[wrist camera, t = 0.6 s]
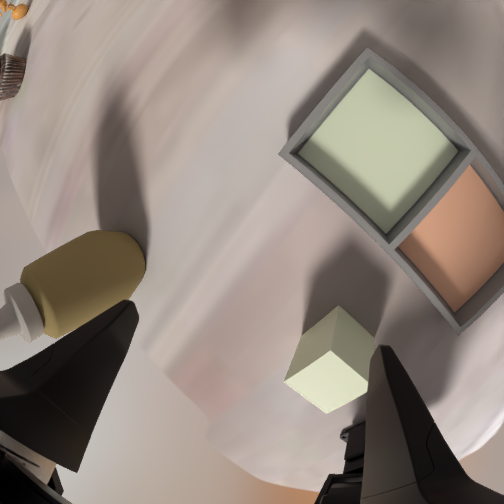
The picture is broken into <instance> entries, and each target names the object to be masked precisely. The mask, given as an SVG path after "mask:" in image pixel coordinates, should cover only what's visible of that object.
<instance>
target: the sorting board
mask: <svg viewBox="0 0 504 504" xmlns="http://www.w3.org/2000/svg"><path fill="white" fill-rule="evenodd" d="M278 155H279V156H281V157H282V158H283V159H284V160H286V161H287V162H288V163H289V164H291V165H292V166H293V167H294V168H295V169H297V170H298V171H299V172H300V173H301V174H303V175H304V176H305V177H306V178H307V179H308V180H310V181H311V182H312V183H313V184H314V185H315V186H317V187H318V188H319V189H320V190H321V191H322V192H323V193H325V194H326V195H327V196H328V197H329V198H330V199H331V200H332V201H333V202H335V203H336V204H337V205H338V206H339V207H340V208H341V209H342V210H343V211H344V212H345V213H346V214H348V215H349V216H350V217H351V218H352V219H353V220H354V221H355V222H356V223H357V224H358V225H359V226H360V227H361V228H362V229H363V230H364V231H365V232H366V233H367V234H368V235H369V236H370V237H371V238H372V239H373V240H374V241H375V242H376V243H377V244H378V245H379V246H380V247H381V248H382V249H383V250H384V251H385V252H386V253H387V254H388V255H389V256H390V257H391V258H392V259H393V260H394V261H395V262H396V263H397V264H398V265H399V266H400V268H401V269H402V270H403V271H404V272H405V273H406V274H407V275H408V276H409V277H410V278H411V280H412V281H413V282H414V283H415V284H416V285H417V286H418V287H419V288H420V290H421V291H422V292H423V293H424V294H425V295H426V296H427V298H428V299H429V300H430V301H431V302H432V303H433V305H434V306H435V307H436V308H437V309H438V311H439V312H440V313H441V314H442V315H443V317H444V318H445V319H446V320H447V322H448V323H449V324H450V325H451V327H452V328H453V329H454V330H455V332H456V333H457V334H458V335H459V334H461V333H462V332H463V331H464V330H465V329H466V328H467V327H469V326H470V325H471V324H472V323H473V322H474V321H475V320H476V319H477V318H478V317H479V316H481V315H482V314H483V313H484V312H485V311H486V310H487V309H488V308H489V307H490V306H491V305H492V304H493V303H494V302H495V301H496V300H497V299H498V298H499V297H500V295H501V294H502V293H503V292H504V184H503V182H502V181H501V180H500V178H499V177H498V175H497V174H496V172H495V171H494V170H493V168H492V167H491V165H490V164H489V163H488V161H487V160H486V159H485V158H484V156H483V155H482V154H481V152H480V151H479V150H478V149H477V147H476V146H475V145H474V144H473V143H472V141H471V140H470V139H469V138H468V137H467V136H466V134H465V133H464V132H463V131H462V130H461V129H460V128H459V127H458V125H457V124H456V123H455V122H454V121H453V120H452V119H451V118H450V117H449V116H448V115H447V114H446V113H445V112H444V111H443V110H442V109H441V108H440V107H439V106H438V105H437V104H436V103H435V102H434V101H433V100H432V99H431V98H430V97H429V96H428V95H427V94H426V93H424V92H423V91H422V90H421V89H420V88H419V87H418V86H417V85H415V84H414V83H413V82H412V81H411V80H410V79H408V78H407V77H406V76H405V75H404V74H402V73H401V72H400V71H399V70H397V69H396V68H395V67H393V66H392V65H391V64H390V63H388V62H387V61H386V60H384V59H383V58H382V57H380V56H379V55H377V54H376V53H375V52H373V51H372V50H370V49H369V48H366V49H365V50H364V51H363V52H362V53H361V55H360V56H359V57H358V58H357V59H356V60H355V61H354V63H353V64H352V65H351V66H350V67H349V68H348V69H347V71H346V72H345V73H344V74H343V75H342V76H341V78H340V79H339V80H338V81H337V82H336V83H335V85H334V86H333V87H332V88H331V89H330V91H329V92H328V93H327V94H326V95H325V97H324V98H323V99H322V100H321V101H320V103H319V104H318V105H317V106H316V107H315V109H314V110H313V111H312V112H311V113H310V115H309V116H308V117H307V118H306V120H305V121H304V122H303V123H302V124H301V126H300V127H299V128H298V129H297V131H296V132H295V133H294V134H293V136H292V137H291V138H290V139H289V141H288V142H287V143H286V144H285V146H284V147H283V148H282V149H281V151H280V152H279V153H278Z"/></svg>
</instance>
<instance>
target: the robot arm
mask: <svg viewBox="0 0 504 504" xmlns="http://www.w3.org/2000/svg"><path fill="white" fill-rule="evenodd" d="M138 321H139V314H138V312H137V309H136V306H135V304H134V302H133V301H130V300H126V299H124V300H122V301H120V302H118V303H117V304H115V305H114V306H112V307H110V308H109V309H107V310H106V311H104V312H102V313H101V314H99V315H98V316H96V317H94V318H93V319H91V320H90V321H88V322H86V323H85V324H83V325H82V326H80V327H78V328H77V329H76V330H74V331H72V332H71V333H69V334H68V335H66V336H64V337H63V338H61V339H60V340H58V341H57V342H55V344H52V345H50V346H49V347H47V348H46V349H44V350H43V351H41V352H39V353H38V354H36V355H34V356H32V357H30V358H29V359H27V360H25V361H23V362H21V363H19V364H17V365H15V366H14V367H12V368H9V369H7V370H4V371H0V504H72V503H71V502H69V501H68V500H66V499H65V498H63V497H62V493H63V491H64V490H63V487H62V485H61V482H60V479H59V476H58V473H57V470H56V467H55V466H56V464H59V465H61V466H63V467H65V468H67V469H69V470H71V471H73V472H76V473H77V472H78V470H79V467H80V464H81V461H82V459H83V456H84V453H85V451H86V448H87V445H88V443H89V440H90V438H91V434H92V432H93V430H94V427H95V425H96V422H97V420H98V417H99V415H100V413H101V410H102V408H103V405H104V403H105V401H106V398H107V396H108V394H109V392H110V389H111V387H112V385H113V383H114V380H115V378H116V376H117V374H118V371H119V369H120V367H121V365H122V363H123V361H124V359H125V357H126V354H127V352H128V349H129V346H130V344H131V341H132V338H133V335H134V332H135V330H136V327H137V324H138ZM340 439H342V440H343V441H345V442H347V446H346V451H345V457H344V460H346V461H345V466H344V471H343V474H329V475H328V478H327V480H326V481H325V483H324V485H323V487H322V489H321V491H320V493H319V495H318V497H317V499H316V501H315V503H314V504H504V495H502V494H500V493H497V492H495V491H493V490H491V489H489V488H487V487H485V486H483V485H481V484H479V483H476V482H475V481H474V480H472V479H471V478H470V477H469V476H468V475H467V474H466V472H465V471H464V469H463V468H462V466H461V465H460V463H459V462H458V460H457V459H456V457H455V455H454V454H453V452H452V451H451V449H450V448H449V446H448V444H447V443H446V441H445V440H444V438H443V436H442V434H441V432H440V431H439V429H438V427H437V425H436V423H435V422H434V420H433V418H432V416H431V414H430V412H429V410H428V409H427V407H426V405H425V403H424V401H423V400H422V398H421V396H420V394H419V393H418V391H417V389H416V387H415V386H414V384H413V382H412V381H411V379H410V377H409V375H408V374H407V372H406V370H405V369H404V367H403V365H402V364H401V362H400V361H399V359H398V357H397V356H396V354H395V352H394V351H393V349H392V348H391V346H389V345H379V346H378V347H377V349H376V350H375V352H374V354H373V355H372V357H371V359H370V365H369V378H368V388H367V398H366V422H364V423H362V424H360V425H358V426H356V427H354V428H352V429H350V430H348V431H345V432H343V433H341V434H340Z"/></svg>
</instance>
